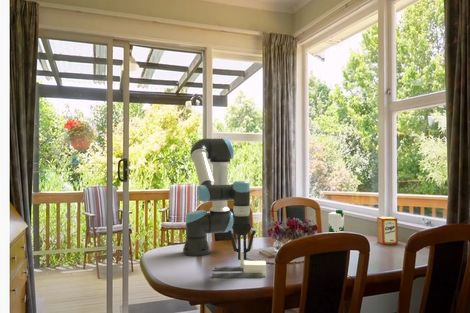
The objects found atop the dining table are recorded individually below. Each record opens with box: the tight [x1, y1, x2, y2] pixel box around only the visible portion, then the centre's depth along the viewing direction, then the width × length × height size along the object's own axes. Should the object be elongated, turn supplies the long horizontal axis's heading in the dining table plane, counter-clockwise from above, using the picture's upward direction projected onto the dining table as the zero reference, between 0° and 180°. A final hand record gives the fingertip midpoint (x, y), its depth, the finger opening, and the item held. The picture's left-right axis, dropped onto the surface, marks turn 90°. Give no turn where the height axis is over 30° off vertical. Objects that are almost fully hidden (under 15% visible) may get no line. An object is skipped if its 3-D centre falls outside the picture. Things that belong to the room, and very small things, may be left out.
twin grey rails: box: [211, 265, 263, 279], centre depth 164 cm, size 22×12×2 cm, turn 87°
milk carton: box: [327, 209, 345, 233], centre depth 229 cm, size 9×9×20 cm
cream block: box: [243, 260, 267, 277], centre depth 163 cm, size 10×7×5 cm
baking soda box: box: [376, 216, 399, 245], centre depth 222 cm, size 10×6×16 cm
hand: (242, 266), depth 164 cm, fingers closed
